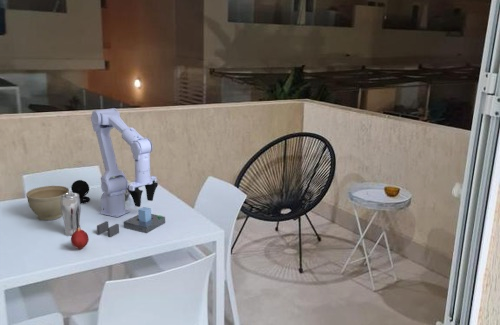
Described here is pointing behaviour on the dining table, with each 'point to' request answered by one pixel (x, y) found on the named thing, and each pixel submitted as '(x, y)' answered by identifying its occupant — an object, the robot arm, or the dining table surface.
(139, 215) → the plug
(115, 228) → the holster
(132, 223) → the port block
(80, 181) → the webcam
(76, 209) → the beer glass
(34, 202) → the planter bowl
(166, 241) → the dining table surface
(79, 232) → the red christmas ornament
